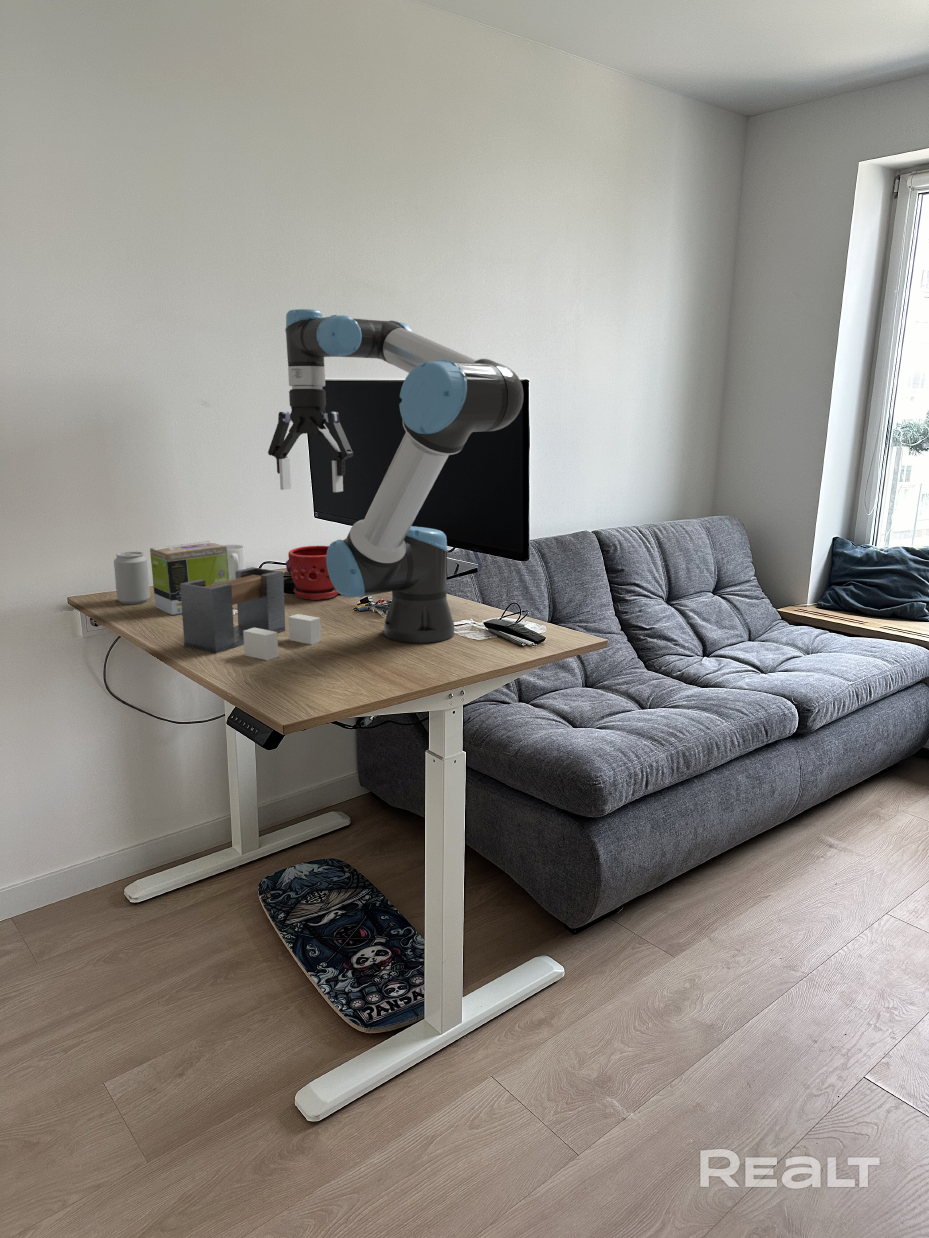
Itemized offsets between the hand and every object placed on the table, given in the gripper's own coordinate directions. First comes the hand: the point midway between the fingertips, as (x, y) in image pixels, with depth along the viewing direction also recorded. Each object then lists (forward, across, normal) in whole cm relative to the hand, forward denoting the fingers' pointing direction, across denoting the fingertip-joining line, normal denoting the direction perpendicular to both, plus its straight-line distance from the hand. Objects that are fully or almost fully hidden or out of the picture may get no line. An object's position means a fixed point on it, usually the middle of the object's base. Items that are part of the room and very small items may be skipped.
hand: (311, 490), depth 187 cm
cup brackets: (+30, -8, -17) cm, 35 cm away
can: (+29, -51, -4) cm, 59 cm away
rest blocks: (+30, +5, -18) cm, 35 cm away
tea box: (+29, -35, -1) cm, 46 cm away
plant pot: (+29, -16, +23) cm, 40 cm away
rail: (+22, -8, -17) cm, 29 cm away
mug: (+29, -40, +20) cm, 53 cm away
